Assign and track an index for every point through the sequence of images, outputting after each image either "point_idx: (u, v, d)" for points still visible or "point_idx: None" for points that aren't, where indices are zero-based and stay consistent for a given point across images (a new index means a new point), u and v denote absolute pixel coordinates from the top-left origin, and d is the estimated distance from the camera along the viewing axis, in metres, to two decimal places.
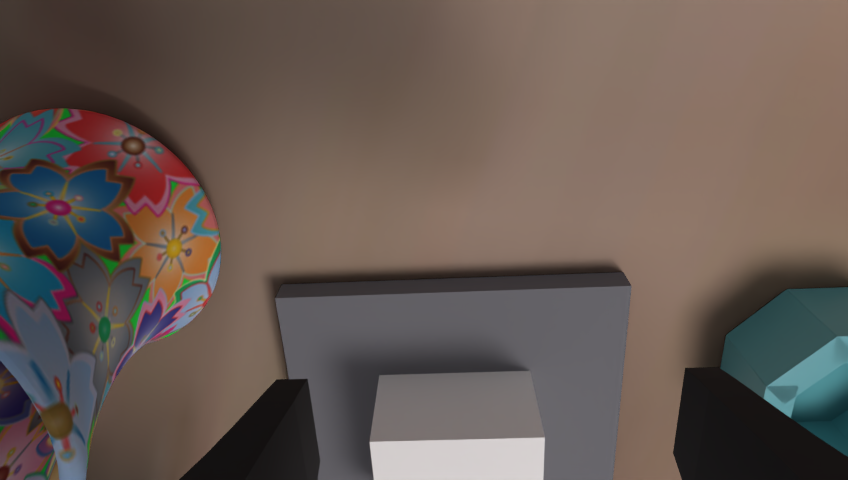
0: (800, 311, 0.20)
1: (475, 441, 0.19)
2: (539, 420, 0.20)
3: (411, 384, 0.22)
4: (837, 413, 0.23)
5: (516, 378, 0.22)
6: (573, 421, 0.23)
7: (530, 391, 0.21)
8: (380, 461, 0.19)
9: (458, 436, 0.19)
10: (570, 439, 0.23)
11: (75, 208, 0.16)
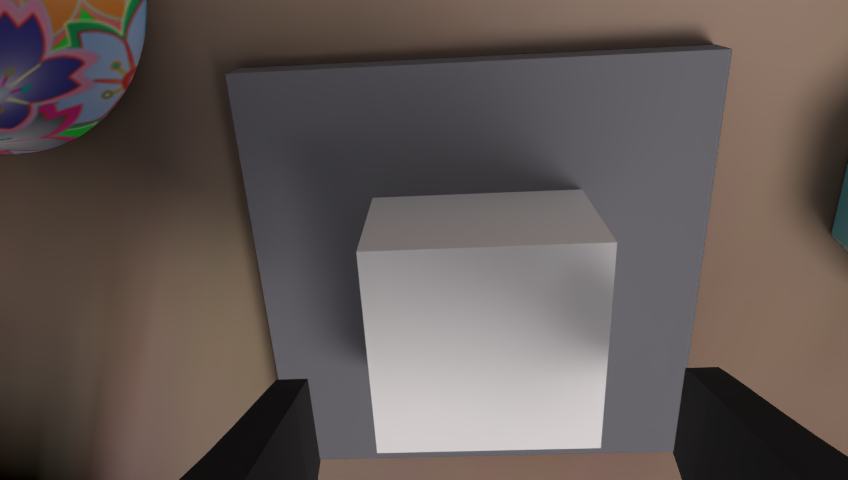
0: None
1: (513, 250, 0.13)
2: (605, 228, 0.13)
3: (417, 203, 0.15)
4: None
5: (564, 195, 0.15)
6: (639, 269, 0.17)
7: (587, 204, 0.15)
8: (372, 285, 0.13)
9: (487, 244, 0.13)
10: (633, 296, 0.17)
11: None
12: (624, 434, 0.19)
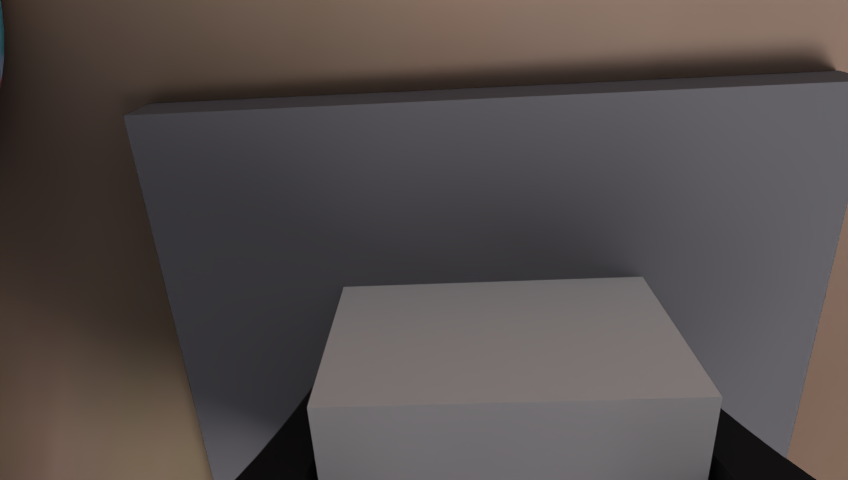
0: None
1: (556, 406, 0.08)
2: (695, 361, 0.09)
3: (406, 300, 0.11)
4: None
5: (619, 288, 0.11)
6: (717, 381, 0.12)
7: (656, 308, 0.10)
8: (334, 454, 0.08)
9: (515, 395, 0.08)
10: None
11: None
12: None
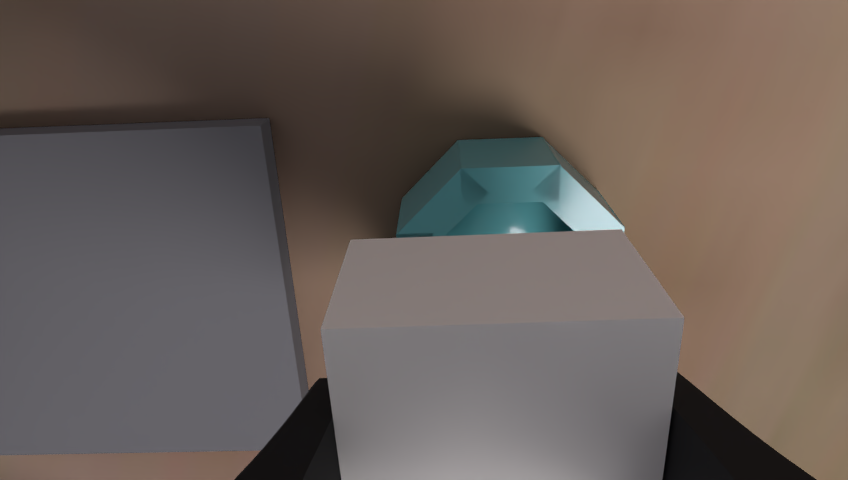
0: (453, 156, 0.18)
1: (539, 327, 0.09)
2: (663, 292, 0.10)
3: (407, 249, 0.12)
4: None
5: (599, 238, 0.12)
6: (236, 298, 0.20)
7: (632, 253, 0.11)
8: (344, 372, 0.10)
9: (503, 318, 0.09)
10: (238, 320, 0.20)
11: None
12: (263, 434, 0.22)
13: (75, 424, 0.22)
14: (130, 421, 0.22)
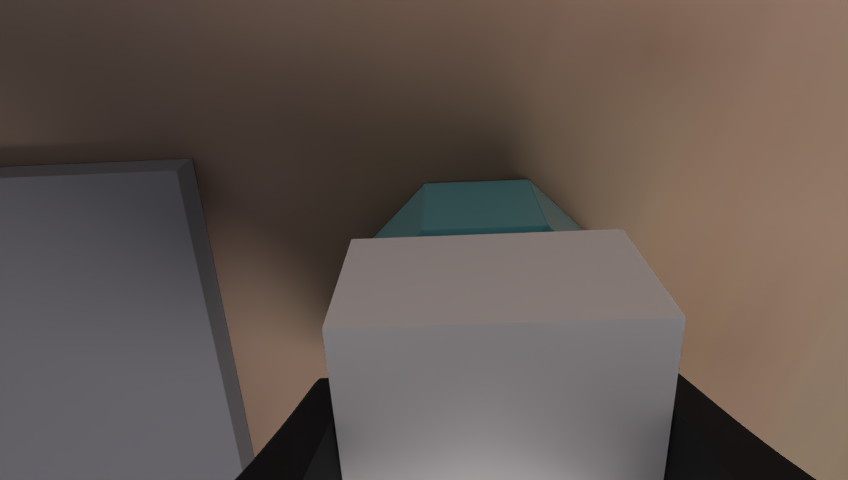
0: (417, 207, 0.14)
1: (540, 326, 0.09)
2: (664, 292, 0.10)
3: (408, 249, 0.12)
4: None
5: (600, 238, 0.12)
6: (160, 373, 0.17)
7: (632, 253, 0.11)
8: (345, 372, 0.10)
9: (504, 318, 0.09)
10: (164, 399, 0.17)
11: None
12: None
13: None
14: None
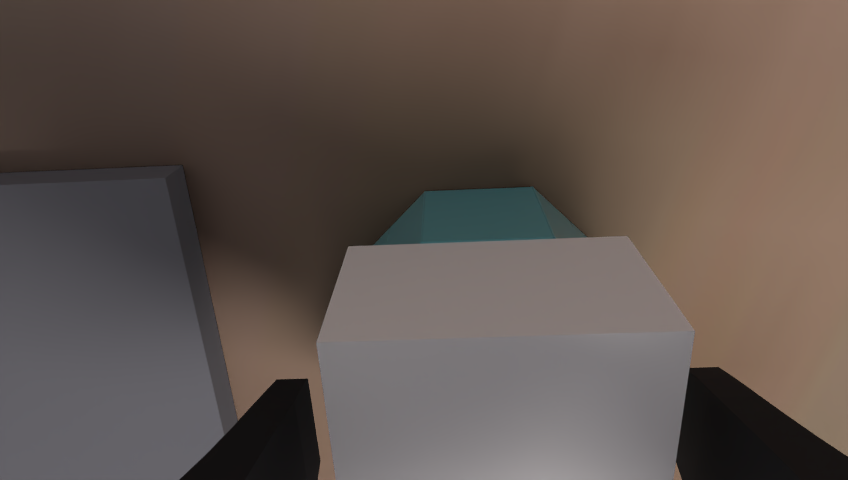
0: (417, 216, 0.14)
1: (543, 340, 0.09)
2: (672, 304, 0.09)
3: (407, 257, 0.11)
4: None
5: (605, 246, 0.11)
6: (150, 387, 0.16)
7: (638, 262, 0.11)
8: (340, 387, 0.09)
9: (506, 331, 0.09)
10: (155, 413, 0.16)
11: None
12: None
13: None
14: None
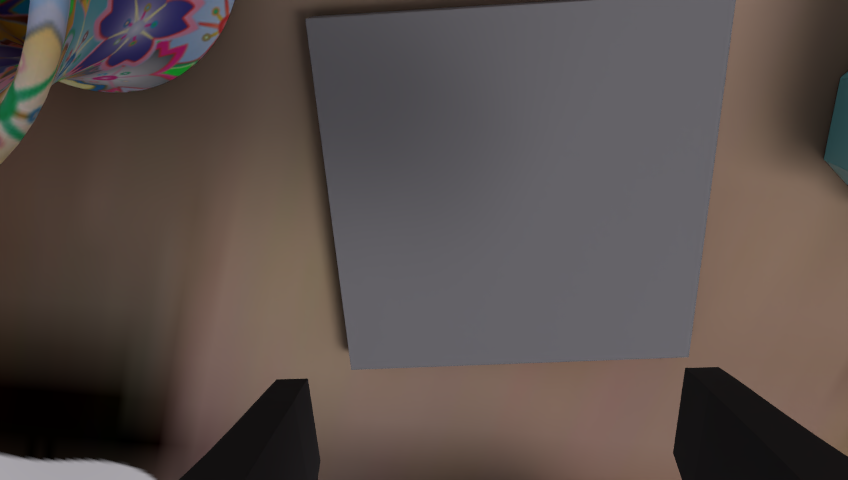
0: None
1: None
2: None
3: None
4: None
5: None
6: (657, 188, 0.19)
7: None
8: None
9: None
10: (652, 213, 0.20)
11: None
12: (643, 341, 0.21)
13: (448, 333, 0.22)
14: (507, 329, 0.21)
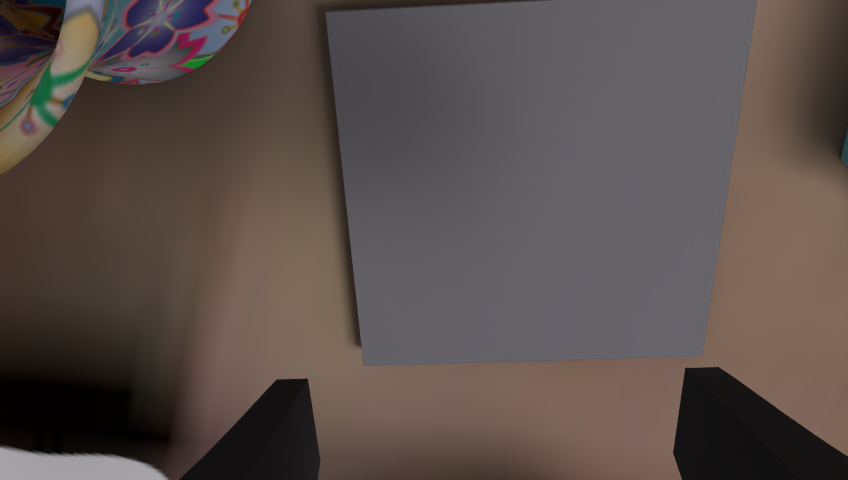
0: None
1: None
2: None
3: None
4: None
5: None
6: (674, 187, 0.19)
7: None
8: None
9: None
10: (669, 212, 0.20)
11: None
12: (657, 340, 0.21)
13: (462, 330, 0.21)
14: (521, 326, 0.21)
